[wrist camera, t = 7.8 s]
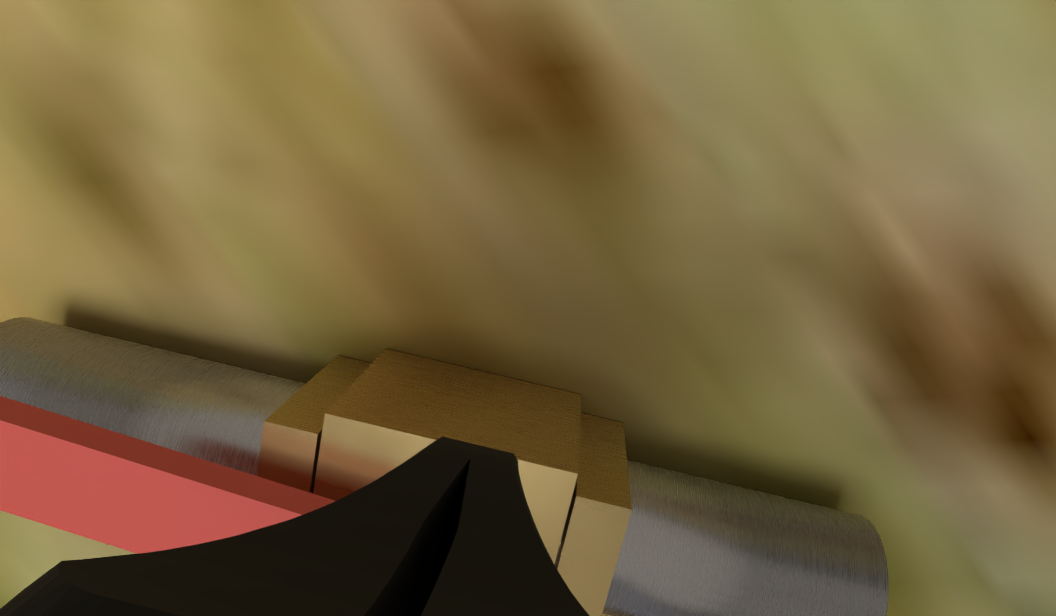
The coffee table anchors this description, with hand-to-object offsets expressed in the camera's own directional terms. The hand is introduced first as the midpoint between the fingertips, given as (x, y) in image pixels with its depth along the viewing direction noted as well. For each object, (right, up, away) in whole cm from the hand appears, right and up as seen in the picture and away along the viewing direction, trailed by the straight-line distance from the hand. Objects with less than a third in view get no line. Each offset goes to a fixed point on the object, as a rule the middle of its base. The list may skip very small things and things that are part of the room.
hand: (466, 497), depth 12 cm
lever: (-6, -2, +6) cm, 9 cm away
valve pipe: (-1, -2, +11) cm, 12 cm away
